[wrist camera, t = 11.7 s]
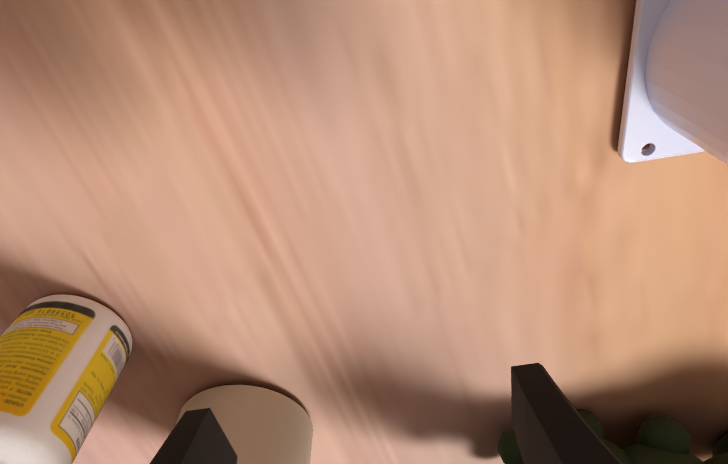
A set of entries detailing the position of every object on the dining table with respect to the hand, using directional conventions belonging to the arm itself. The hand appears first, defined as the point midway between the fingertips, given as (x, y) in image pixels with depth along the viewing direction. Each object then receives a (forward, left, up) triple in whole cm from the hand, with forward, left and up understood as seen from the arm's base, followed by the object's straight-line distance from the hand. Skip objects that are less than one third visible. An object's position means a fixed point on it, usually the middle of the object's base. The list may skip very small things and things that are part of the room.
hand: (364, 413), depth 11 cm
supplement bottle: (+16, +5, -11) cm, 20 cm away
